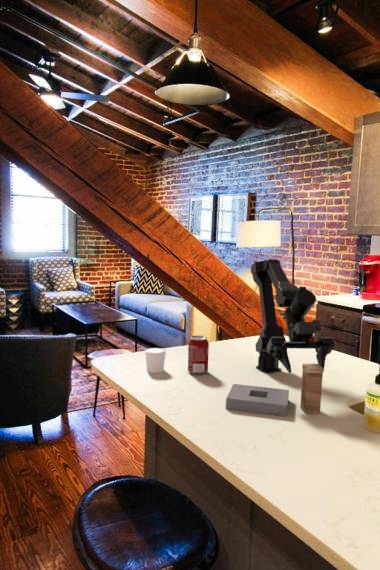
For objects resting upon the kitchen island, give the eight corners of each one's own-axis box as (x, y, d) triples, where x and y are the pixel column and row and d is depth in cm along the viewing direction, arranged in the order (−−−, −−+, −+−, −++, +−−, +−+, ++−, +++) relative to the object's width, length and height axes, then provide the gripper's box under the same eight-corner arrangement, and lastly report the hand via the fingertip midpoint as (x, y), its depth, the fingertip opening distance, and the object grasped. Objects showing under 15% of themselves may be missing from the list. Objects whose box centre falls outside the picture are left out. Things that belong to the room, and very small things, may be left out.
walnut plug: (299, 407, 125) (302, 363, 123) (314, 407, 125) (317, 363, 124) (305, 414, 121) (308, 368, 119) (320, 413, 121) (323, 368, 120)
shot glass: (168, 368, 156) (168, 348, 155) (160, 374, 150) (161, 353, 149) (150, 366, 158) (150, 346, 157) (141, 371, 152) (141, 351, 151)
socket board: (233, 393, 134) (233, 383, 134) (288, 400, 130) (288, 390, 130) (225, 408, 123) (226, 398, 122) (286, 416, 119) (286, 405, 118)
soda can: (205, 376, 149) (207, 340, 148) (185, 374, 151) (186, 339, 149) (209, 370, 156) (210, 335, 154) (189, 368, 157) (190, 334, 156)
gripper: (271, 309, 128) (280, 358, 119) (335, 309, 130) (349, 358, 121) (263, 329, 137) (271, 377, 128) (323, 330, 139) (335, 377, 129)
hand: (306, 372), depth 126 cm, fingers open, 9 cm apart
